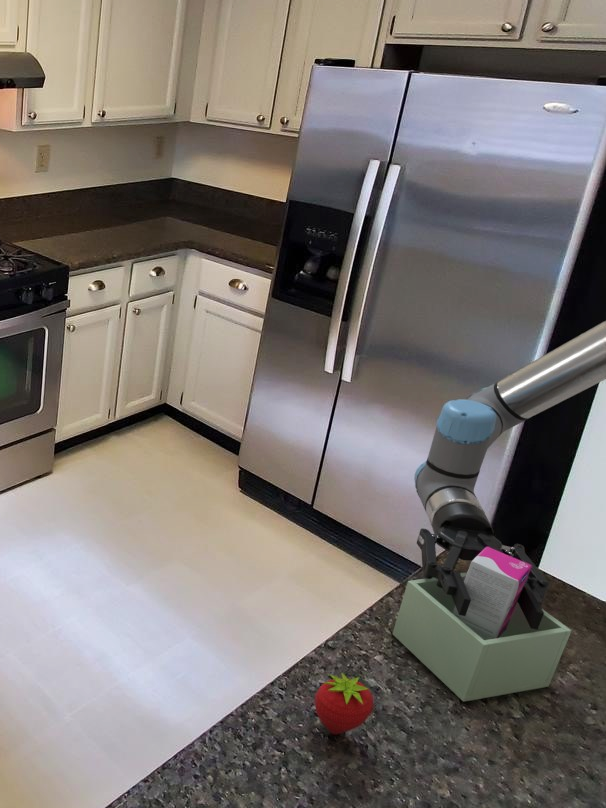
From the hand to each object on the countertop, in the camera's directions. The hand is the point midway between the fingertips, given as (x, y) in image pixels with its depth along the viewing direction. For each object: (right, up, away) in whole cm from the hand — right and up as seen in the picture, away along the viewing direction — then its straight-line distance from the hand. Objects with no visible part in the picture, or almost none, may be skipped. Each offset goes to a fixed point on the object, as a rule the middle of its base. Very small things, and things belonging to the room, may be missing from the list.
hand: (500, 614), depth 105 cm
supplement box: (+2, -4, +7) cm, 8 cm away
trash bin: (+2, -9, +9) cm, 13 cm away
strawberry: (-23, -15, -3) cm, 28 cm away
